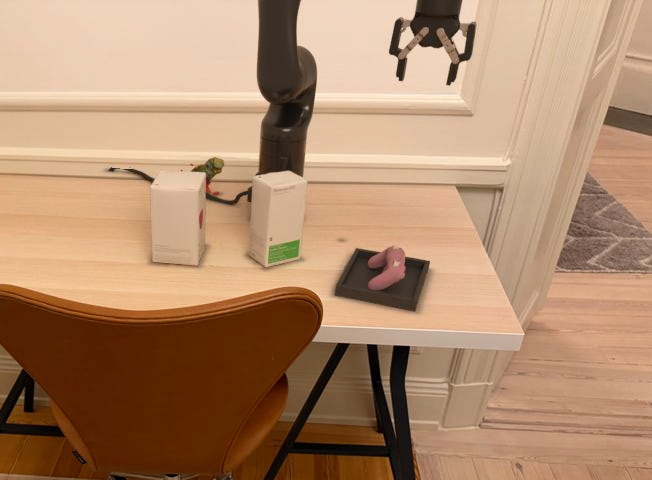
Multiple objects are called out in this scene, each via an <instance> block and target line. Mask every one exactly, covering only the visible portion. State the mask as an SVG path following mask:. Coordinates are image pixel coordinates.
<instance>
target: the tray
mask: <svg viewBox="0 0 652 480" xmlns="http://www.w3.org/2000/svg"><path fill="white" fill-rule="evenodd" d="M381 252H382V251H378V250H377V251H376V250H370V249H365V248H358V247H355V248H354V251H353V252H352V255H351V256H350V258H349V261H347V264H346V266H345V268H344V270H343V271H342V274H341V276H340V277H339V278H338V281H337V283H336V285H335V291H334V296H336V297H342V298H346V299H351V300H357V301H361V302H367V303H371V304H377V305H381V306H385V307H391V308H396V309H401V310H407V311H411V312H416V310H417V307H418V304H419V300H420V297H421V295H422V291H423V288H424V285H425V282H426V280H427V279H426V278H427V276H428V272H429V270H430V269H429V268H430V264H431V260H427V259H423V258H422V259H421V258H416V257H409V256H405V263H404V266H405V271H404V273H405V275H404V278H402V279H400V280H399V281H398V282H396V283H394V284H392V285H391V286H389V287H387V288H385V289H383V290H379V291H374V290H369V288H368V283H369V282H370V281H371V280H372V279H373V278H374V277H376V276H378V275H380V274H382V272H383V269H384V268H385V266H384V267H381V268H376V269H372V268H369V267H368V261H369V259H370V258H371V257H373V256H375V255H377V254H379V253H381Z"/></svg>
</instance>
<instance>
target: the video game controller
mask: <svg viewBox="0 0 652 480" xmlns="http://www.w3.org/2000/svg"><path fill="white" fill-rule="evenodd" d="M380 252H381V253H379V254H377V255H375V256H373V257H371V258H370V259H369V261H368V267H369V268H372V269H376V268H381V267H384V266H385V268H384V269H383V272H382V274H380V275H378V276H376V277H374V278H373V279H372V280H371V281H370V282H369V283H368V288H369V290H374V291H379V290H383V289H385V288H387V287H389V286H391V285H392V284H394V283H396V282H398V281H399V280H400V279H402V278H404V275H405V273H404V271H405V266H404V263H405V257H406V253H405V250H404V249H403V248H402V247H400V246H395V245H394V244H393V245H392V246H388V247H387V248H385V249H384V250H383V251H380Z"/></svg>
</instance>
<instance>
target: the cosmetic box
mask: <svg viewBox="0 0 652 480" xmlns="http://www.w3.org/2000/svg"><path fill="white" fill-rule="evenodd" d="M251 180H252V185H251V186H252V201H251V203H250V204H251V205H250V219H249V236H248V237H249V238H248V250H247V252H248V253H247V254H248V256H249V257H250V258H252V259H253V260H254V261H256V262H257V263H259V264H260V265H261V266H263V267H264V268H269V267H272V266H273V267H274V266H277V265H281V264H285V263H289V262H294V261H298V260H300V259H301V251H302V241H303V231H304V222H305V214H306V213H305V212H306V202H307V193H308V184H309V180H308V179H307V178H304V176H303V177H301V176H299V175H296V174H295V173H293V172H291V171H283V172H276V173H268V174H264V175H257V176H255V175H253V176H252V179H251Z"/></svg>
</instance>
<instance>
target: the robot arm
mask: <svg viewBox="0 0 652 480" xmlns="http://www.w3.org/2000/svg"><path fill="white" fill-rule="evenodd" d="M301 2H302V0H257V13H258V33H257V34H258V35H257V55H256V84H257V88H258V91H259V93H260V95H261V96H262V98H263V99H264V100H265V101H266V102H268V103H269V105H268V109H267V111H266V113H265V114H264V116H263V118H262V120H261V122H260V132H259V133H260V134H259V153H258V167H257V172H256V173H255V175H254V176H257V175H264V174H268V173H276V172H283V171H291V172H293V173H295V174H296V175H299V176H301V177H303V178H304V173H305V161H306V151H307V150H306V149H307V140H308V138H307V137H308V131H309V127H310V124H311V122H312V118H313V115H314V107H315V99H316V91H317V85H318V84H317V83H318V66H317V62H316V59H315V56H314V55H313V54H312V52H311V51H310V50H309V49H308V48H306V47H305V46H302V45H298V16H299V12H300V11H299V10H300V7H301ZM462 5H463V0H416V4H415V10H414V15H413V17H412V19H407V18H404V17H402V16H400V17H398V18H397V19H396V20H395V21H394V25H393V29H392V34H391V39H390V44H389V49H388V54H389V55H390V56H393V57H396V58H397V64H396V71H395V77H396V78H397V79H398V82H404V80H405V76H406V70H407V66H408V65H407V64H408V59H409V58H408V55H409V54H410V53H411V51H413V49H414V48H415V47H416V46H417V45H419V46H420V47H421V48H433V49H440V48H443V49H444V51H445V52H446V54H447V55H448V58H449V59H450V61H451V62H450V63H449V69H448V74H447V78H446V82H445V86H451V85H452V83H455V81H456V80H457V78H458V77H457V76H458V73H459V66H460V63H463V62H469V61H470V59H471V58H472V56H473V51H474V44H475V39H476V31H477V27H478V26H477V24H478V23H477V22H476V21H471V22H469V23H468V22H461V21H460V16H461V11H462ZM407 28H410V31H411V33H412V35H413V38H412V39H411V40H410V41H409V42H408V43H407V45H405V47H404V48H403V49H402V48H400V47H399V46H400V42H401V37H402V33H405V31H406V30H407ZM459 31H461V32H462V33H461V34H462V37H464V38H465V44H464V49H463V50H464V51H463V52H461V53H460V52H459V50H458V48H457V45H456V43H455V41H454V39H453V38H454V36H455V35H456V34H457V33H458V32H459ZM117 169H118V170H121V169H120V168H112V166H111V167H110V168H109V169H108V172H113V171H114V170H117ZM122 170H123V171H126V172H130V173H133V174H136V175H139V176H141V177H142V178H144V179H146V180H147V181H149V182H151V183H153V182H154V180H155V178H153V177H152V176H150V175H149V174H147V173H145V172H143V171H142V170H138V169H135V168H132V169H122ZM245 196H246V197H247V198H246V202H247V203H250V204H251V201H252V185H251V186H249V187H248V188H247V190H244V191H241V192H239V193H238V194H237V195H236V196H235V199H232V200H226V199H222V198H220V197H217V196H215V195H212V194H209V193H206V199H209V200H211V201H214V202H216V203H220V204H225V205H235V204H238V202H240V199H241V198H242V197H245Z"/></svg>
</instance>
